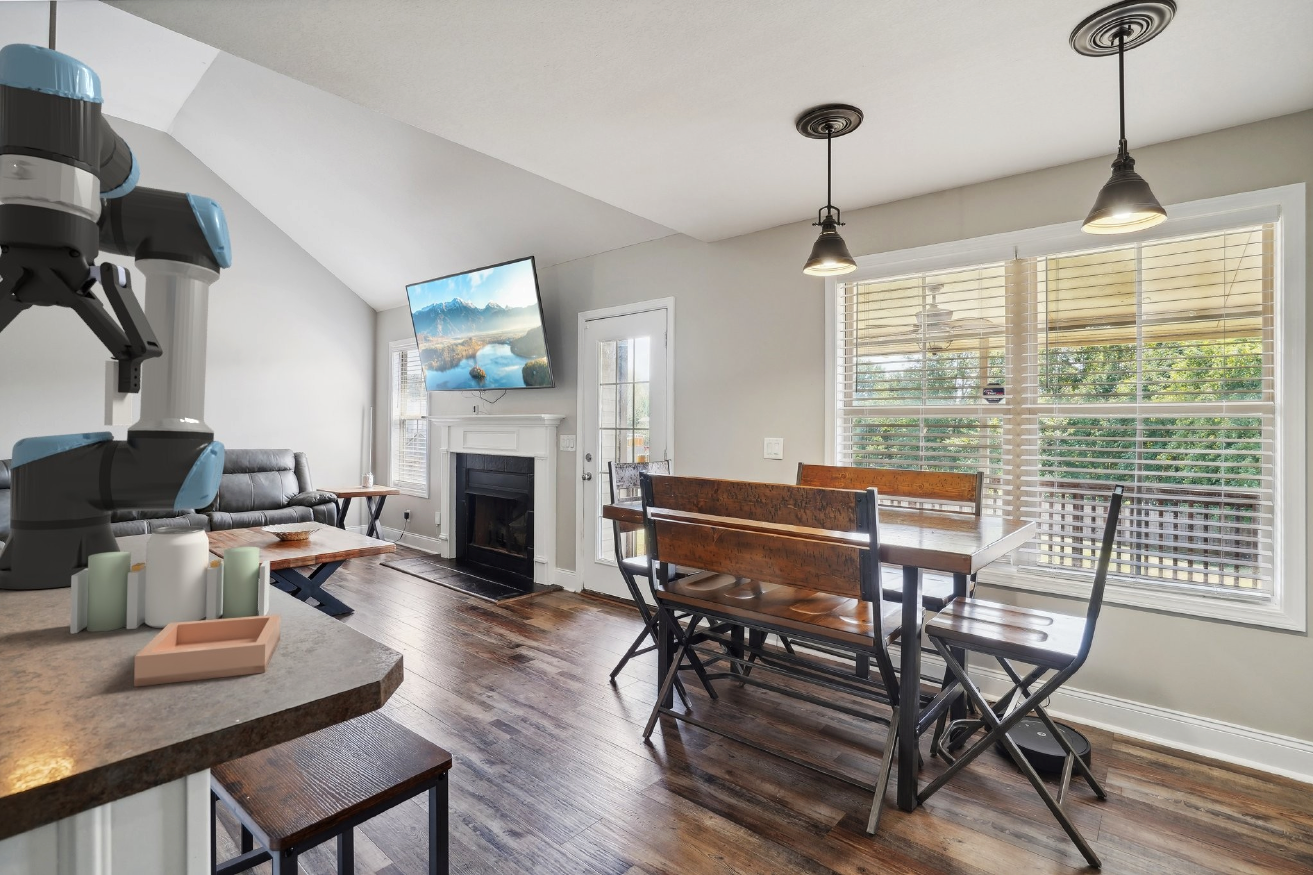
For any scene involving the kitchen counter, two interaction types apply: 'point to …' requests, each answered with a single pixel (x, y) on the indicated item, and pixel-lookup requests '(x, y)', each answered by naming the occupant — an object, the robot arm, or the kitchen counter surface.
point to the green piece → (240, 582)
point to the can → (176, 575)
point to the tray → (208, 650)
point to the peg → (107, 590)
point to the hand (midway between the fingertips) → (46, 423)
